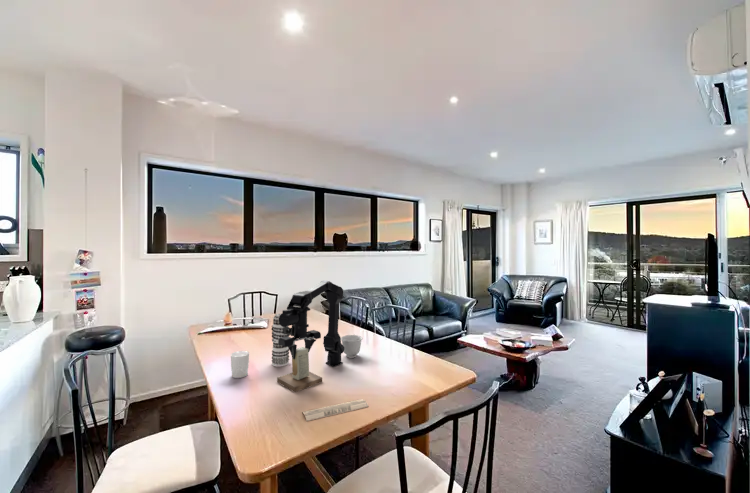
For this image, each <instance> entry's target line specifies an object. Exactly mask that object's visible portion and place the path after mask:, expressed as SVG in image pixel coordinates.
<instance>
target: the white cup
mask: <svg viewBox="0 0 750 493" xmlns="http://www.w3.org/2000/svg"><path fill="white" fill-rule="evenodd" d="M249 363H250V352H249V351H248V350H247V351H246V350H239V351H238V350H237V351H234V352H232V353H230V369H231V377H232V378H234V379H240V378H244V377H247V375H248V374H249V373H248V372H249Z"/></svg>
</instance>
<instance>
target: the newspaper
mask: <svg viewBox="0 0 750 493" xmlns="http://www.w3.org/2000/svg"><path fill="white" fill-rule="evenodd" d="M366 408H369V404H368V402H367V401H366V400H365V399H363V398H361V399H357V400H352V401H347V402H342V403H338V404H334V405H328V406H324V407H319V408H315V409H311V410H306V411H302V414H304V416H305V419H306V420H305V421H306V422H310V421H313V420H319V419H323V418H327V417H331V416H335V415H340V414H343V413H344V414H345V413H349V412H352V411H356V410H360V409H366Z"/></svg>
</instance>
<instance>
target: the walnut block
mask: <svg viewBox="0 0 750 493" xmlns="http://www.w3.org/2000/svg"><path fill="white" fill-rule="evenodd" d="M276 382H277V383H278V384H280V385H282V386H283V387H285V388H287V389H289V390H291V391H292V392H293V393H297V392H299V391H302V390H304V389H307V388H310V387H313V386H315V385H317V384H318V385H319V384H320V383H321V384H322V383H323V377H322V376H320V375H318V374H315V373H313V372H311V371H309V376H307V377H304V378H302V379H299V380H297V379H294V378H292V372H291V373H287V374H284V375H282V376H277V378H276Z"/></svg>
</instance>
